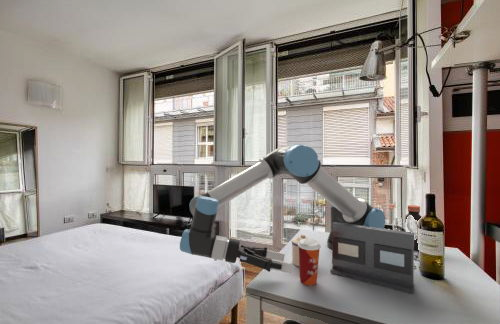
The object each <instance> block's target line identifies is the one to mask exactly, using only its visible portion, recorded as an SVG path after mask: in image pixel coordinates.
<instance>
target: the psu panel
mask: <svg viewBox="0 0 500 324" xmlns="http://www.w3.org/2000/svg"><path fill="white" fill-rule="evenodd" d="M331 250H332V251H331V252H332V256H331V258H332V261H331V264H332V265H331V266H332V267H331V268H330V270H329V272H330V274H334V275H337V276H342V277H345V278H348V279H353V280H357V281H360V282H365V283H368V284H373V285H377V286H380V287H384V288H388V289H393V290H396V291H400V292H404V293H408V294H414V281H415V280H414V273H415V272H414V271H415V269H414V268H415V267H414V265H415V263H414V262H415V261H414V259H415V257H414V256H415V250H414V233H411V232H405V231H403V230H395V229H389V228H383V229H382V228H375V227H368V226H360V225H353V224H346V223H339V222H334V223H333V224H332V249H331Z"/></svg>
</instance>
